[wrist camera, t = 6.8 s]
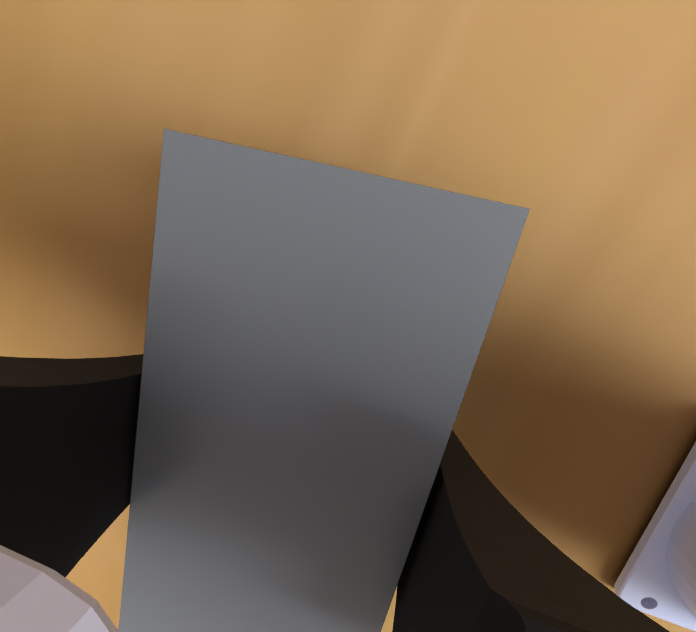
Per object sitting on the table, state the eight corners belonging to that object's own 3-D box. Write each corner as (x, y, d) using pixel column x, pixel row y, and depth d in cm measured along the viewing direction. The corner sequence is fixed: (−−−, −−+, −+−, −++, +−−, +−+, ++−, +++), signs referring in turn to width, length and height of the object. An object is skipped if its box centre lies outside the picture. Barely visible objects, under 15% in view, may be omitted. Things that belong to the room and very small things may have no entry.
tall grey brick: (474, 225, 11) (529, 208, 5) (371, 551, 14) (333, 764, 8) (291, 183, 12) (164, 128, 6) (234, 498, 15) (116, 657, 9)
